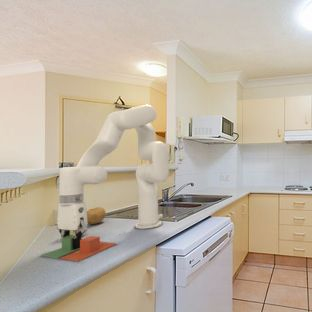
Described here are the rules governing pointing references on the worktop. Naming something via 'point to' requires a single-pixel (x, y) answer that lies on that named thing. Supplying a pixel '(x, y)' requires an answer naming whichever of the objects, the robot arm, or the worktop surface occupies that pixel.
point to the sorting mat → (76, 253)
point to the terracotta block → (89, 244)
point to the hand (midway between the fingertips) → (71, 247)
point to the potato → (95, 215)
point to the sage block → (67, 242)
